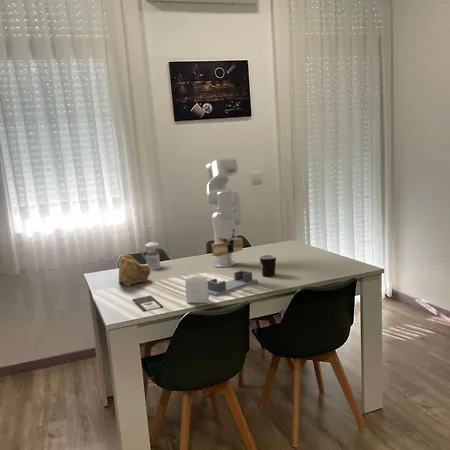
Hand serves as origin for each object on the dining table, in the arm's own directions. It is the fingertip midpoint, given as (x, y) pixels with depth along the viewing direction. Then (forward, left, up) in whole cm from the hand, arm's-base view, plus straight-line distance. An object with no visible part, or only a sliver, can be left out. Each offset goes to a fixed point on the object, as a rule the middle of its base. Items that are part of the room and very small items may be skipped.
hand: (228, 251), depth 230 cm
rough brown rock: (-42, -30, -16) cm, 54 cm away
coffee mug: (+7, +22, -16) cm, 28 cm away
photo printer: (+10, -29, -16) cm, 35 cm away
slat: (0, 0, -1) cm, 1 cm away
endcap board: (+6, -5, -16) cm, 18 cm away
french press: (-60, -7, -16) cm, 63 cm away
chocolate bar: (-7, -45, -17) cm, 48 cm away
